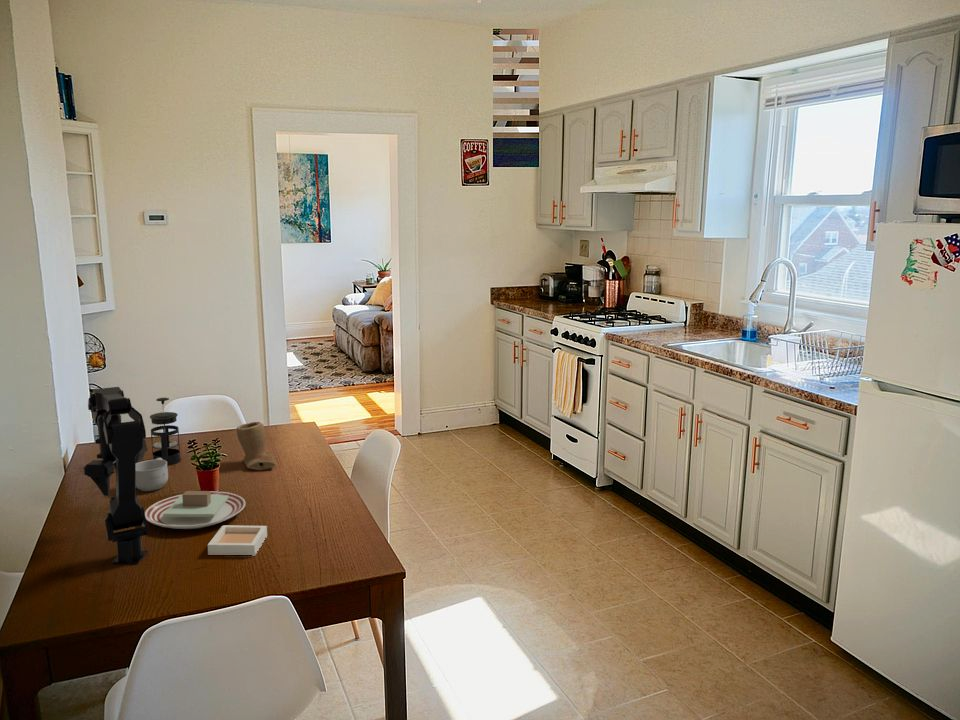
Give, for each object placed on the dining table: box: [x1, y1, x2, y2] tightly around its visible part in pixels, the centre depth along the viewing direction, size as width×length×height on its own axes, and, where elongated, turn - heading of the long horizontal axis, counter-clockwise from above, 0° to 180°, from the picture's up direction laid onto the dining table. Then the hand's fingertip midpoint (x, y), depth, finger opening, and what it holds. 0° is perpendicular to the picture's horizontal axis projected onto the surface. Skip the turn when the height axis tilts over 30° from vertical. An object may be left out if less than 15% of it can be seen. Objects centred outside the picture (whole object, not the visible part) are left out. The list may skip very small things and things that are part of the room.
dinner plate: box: [144, 490, 246, 530], centre depth 214 cm, size 28×27×3 cm
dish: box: [207, 524, 268, 557], centre depth 196 cm, size 12×12×3 cm
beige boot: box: [236, 421, 277, 471], centre depth 256 cm, size 15×12×15 cm
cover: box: [163, 490, 229, 517], centre depth 213 cm, size 14×14×4 cm
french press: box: [149, 397, 182, 467], centre depth 256 cm, size 12×9×23 cm
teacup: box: [136, 458, 169, 492], centre depth 235 cm, size 14×11×8 cm
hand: (115, 489), depth 199 cm, fingers open, 9 cm apart
